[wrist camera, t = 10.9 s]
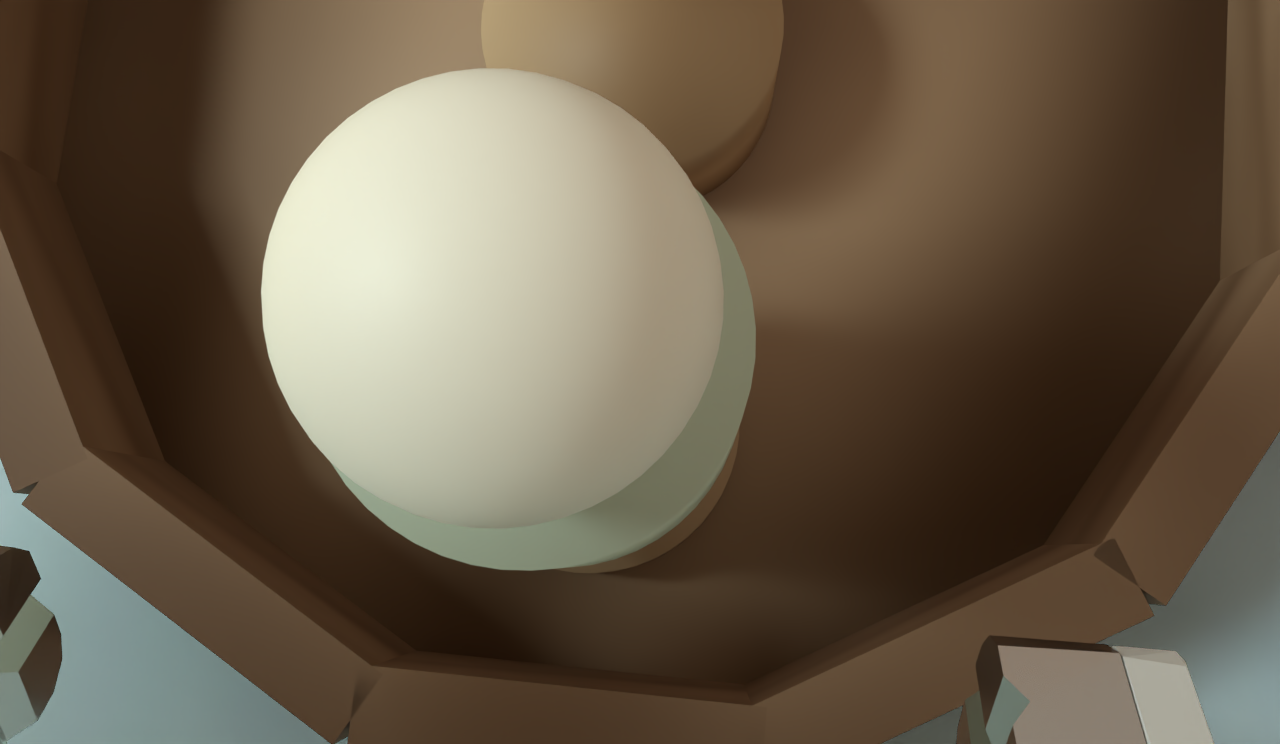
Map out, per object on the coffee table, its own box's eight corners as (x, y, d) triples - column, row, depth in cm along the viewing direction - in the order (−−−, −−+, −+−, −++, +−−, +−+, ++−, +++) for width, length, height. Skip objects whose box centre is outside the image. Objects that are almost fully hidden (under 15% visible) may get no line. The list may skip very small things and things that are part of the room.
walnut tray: (-71, 666, 18) (-223, 689, 15) (133, -485, 21) (38, -660, 18) (1260, 808, 17) (1383, 862, 14) (1288, -424, 20) (1395, -599, 17)
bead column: (439, 558, 17) (63, 560, 7) (472, 280, 18) (168, -101, 7) (725, 585, 17) (772, 628, 7) (748, 303, 18) (823, -57, 7)
